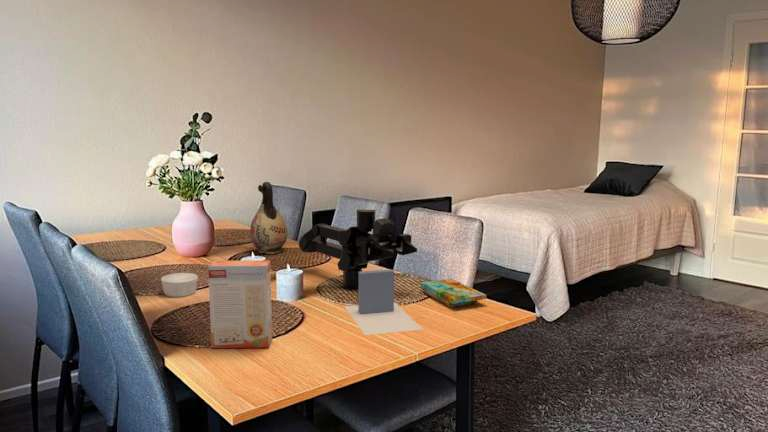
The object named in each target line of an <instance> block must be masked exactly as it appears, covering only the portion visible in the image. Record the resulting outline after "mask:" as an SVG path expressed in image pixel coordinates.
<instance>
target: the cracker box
mask: <svg viewBox="0 0 768 432" xmlns="http://www.w3.org/2000/svg"><path fill="white" fill-rule="evenodd" d="M207 269H208V292H209V293H208V295H209V296H208V297H209V298H208V299H209V318H210V319H209V321H210V342H211V343H210V344H211V348H212V349H249V348H250V349H253V348H254V349H258V348H260V349H266V348H267V349H268V348H269V347H270V345H271V343H272V341H273V320H272V319H273V317H272V316H273V313H272V309H273V308H272V280H271V279H272V278H271V277H272V275H271V260H214V261H212V262H211V263H210V264H209V265H208V268H207Z"/></svg>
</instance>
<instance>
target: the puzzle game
mask: <svg viewBox="0 0 768 432" xmlns="http://www.w3.org/2000/svg"><path fill="white" fill-rule="evenodd" d="M419 288H420V289H421V290H422V292H423V293H424V294H425V295H427V296H429V297H430V298H432V299H434V300H436V301H438V302H440V303H442V304H444V305H445V306H447V307H449V308H451V307H457V306H463V305H465V306H466V305H471V304H475V303H477V302H478V301H482V300H486V299H487V294H485V293H483V292H480V291H479V290H477V289H475V288H473V287H470V286H469V285H466V284H464V283H462V282H460V281H458V280H455V279H453V278H445V279H437V280H428V281H422V282H419Z"/></svg>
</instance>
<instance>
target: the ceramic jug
mask: <svg viewBox="0 0 768 432" xmlns="http://www.w3.org/2000/svg"><path fill="white" fill-rule="evenodd" d="M257 189H258V192H260V193H261V194H262V201H261V203H260V204H261V205H260V206H259V208H258V209H257V211H256V212H255V216H254V217H253V219H252V221H251V224H250V229H249V237H250V241H251V243H252V244H253V245H254V247H255V248H256V249H257V251H258V253H259V252H261V253H266V254H265V255H275V254H278V253H281V252H282V248H283V247H284V245H285V244H286V242H287V239H288V233H289V232H288V228H287V224H286V222H285V220H284V218H283V216H282V215H281V214H280V212H279V210H278V209H277V207H276V206H275V205H274V201H273V199H274V196H273V195H274V192H273V186H272V184H271V183H270V182H269V181H264V182H262V184H259V185H258V187H257ZM261 253H260V254H261Z"/></svg>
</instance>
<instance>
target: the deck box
mask: <svg viewBox="0 0 768 432" xmlns="http://www.w3.org/2000/svg"><path fill="white" fill-rule="evenodd" d="M357 291H358V292H357V293H358V296H357V297H358V301H357V303H358V304H357V305H358V312H359V313H360V314H371V313H382V312H393V311H394V302H395V270H393V268H392V269H390V268H389V269H378V270H362V271H360V272H359V288H358V289H357Z"/></svg>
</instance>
